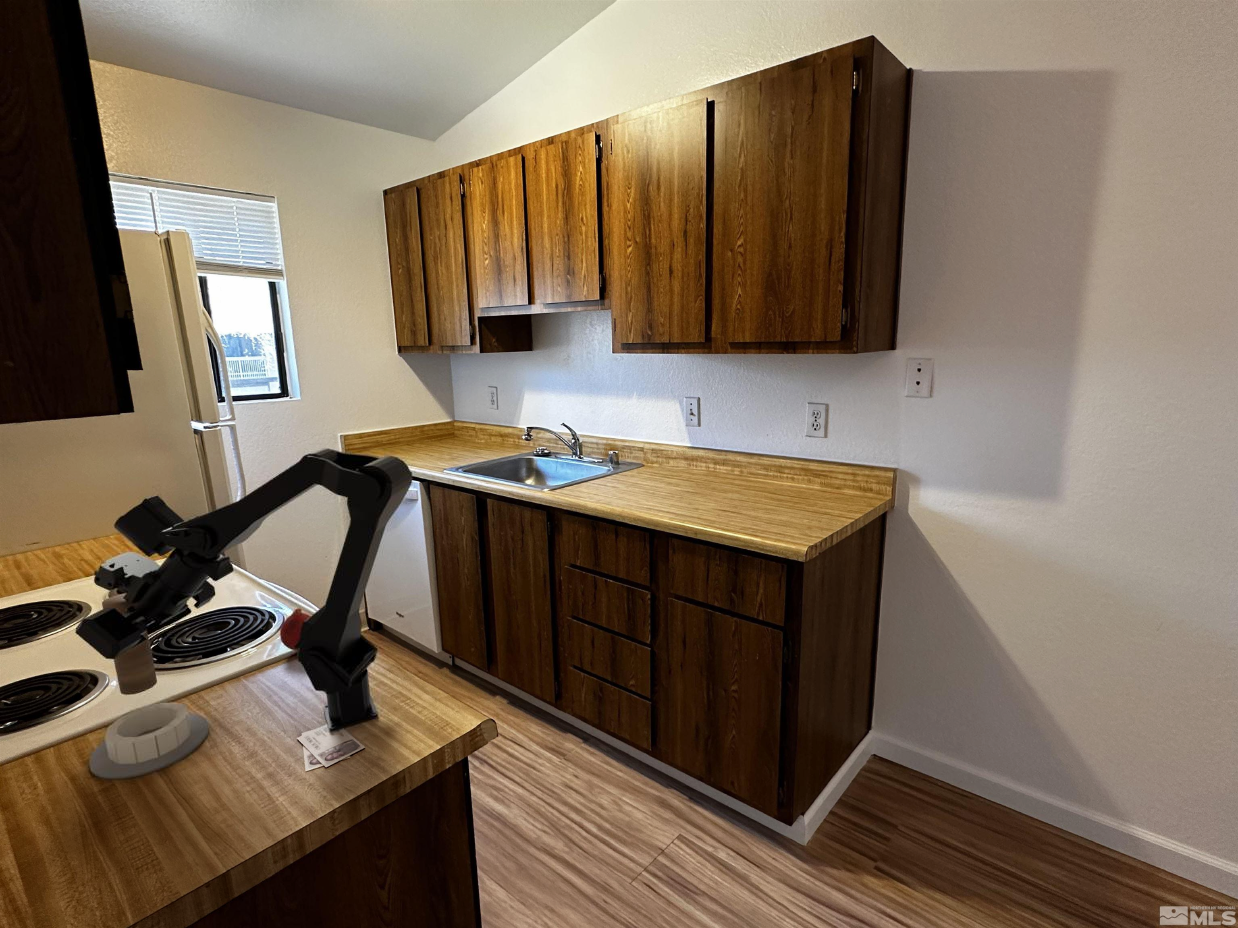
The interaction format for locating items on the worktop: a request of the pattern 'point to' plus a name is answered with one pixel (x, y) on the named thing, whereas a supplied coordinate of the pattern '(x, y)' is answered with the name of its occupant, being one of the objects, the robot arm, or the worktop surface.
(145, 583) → the robot arm
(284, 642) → the onion
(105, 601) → the pepper mill
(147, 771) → the holder cup
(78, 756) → the worktop surface
